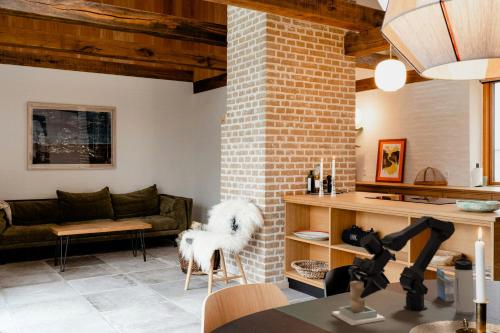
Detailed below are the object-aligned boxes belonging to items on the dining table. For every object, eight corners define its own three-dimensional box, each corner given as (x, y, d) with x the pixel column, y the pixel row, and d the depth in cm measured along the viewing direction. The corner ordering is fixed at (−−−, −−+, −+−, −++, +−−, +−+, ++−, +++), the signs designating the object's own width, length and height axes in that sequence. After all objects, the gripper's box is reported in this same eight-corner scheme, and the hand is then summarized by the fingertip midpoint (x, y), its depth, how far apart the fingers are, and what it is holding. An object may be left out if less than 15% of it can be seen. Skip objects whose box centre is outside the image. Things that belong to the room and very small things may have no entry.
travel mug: (473, 310, 182) (471, 258, 182) (475, 316, 176) (473, 261, 176) (455, 309, 184) (453, 257, 184) (456, 314, 178) (455, 261, 178)
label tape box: (454, 301, 194) (453, 271, 194) (444, 302, 195) (443, 271, 195) (446, 295, 203) (445, 267, 203) (436, 296, 203) (435, 267, 203)
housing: (363, 309, 187) (363, 302, 187) (385, 320, 174) (384, 311, 174) (332, 314, 183) (332, 306, 183) (351, 325, 170) (351, 316, 170)
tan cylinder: (364, 312, 180) (363, 281, 180) (365, 316, 176) (364, 284, 176) (351, 312, 181) (350, 280, 181) (351, 316, 177) (350, 284, 176)
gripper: (351, 245, 189) (327, 276, 185) (379, 252, 171) (353, 286, 167) (369, 263, 191) (346, 293, 188) (398, 272, 174) (373, 306, 170)
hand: (354, 294), depth 178 cm, fingers open, 9 cm apart
